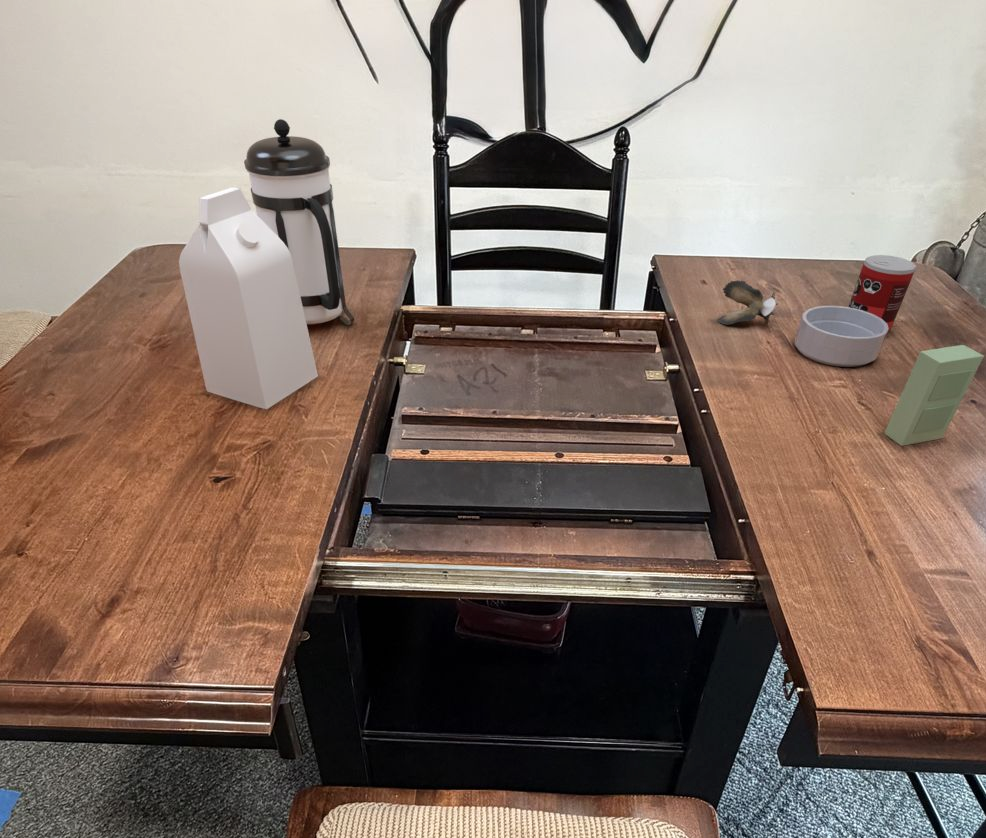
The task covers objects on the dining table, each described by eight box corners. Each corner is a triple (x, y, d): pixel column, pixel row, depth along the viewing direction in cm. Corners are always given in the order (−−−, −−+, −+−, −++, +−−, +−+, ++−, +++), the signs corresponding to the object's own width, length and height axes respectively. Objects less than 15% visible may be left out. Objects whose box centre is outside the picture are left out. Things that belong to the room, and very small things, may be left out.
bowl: (872, 340, 122) (883, 311, 119) (880, 373, 113) (892, 342, 110) (792, 330, 125) (801, 301, 121) (794, 362, 116) (803, 332, 112)
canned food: (839, 317, 129) (861, 253, 122) (885, 321, 128) (910, 256, 121) (845, 333, 124) (869, 268, 116) (894, 338, 123) (921, 272, 115)
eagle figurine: (764, 305, 130) (717, 294, 129) (784, 280, 123) (735, 268, 122) (760, 341, 128) (713, 330, 128) (780, 318, 121) (730, 306, 121)
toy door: (883, 433, 99) (919, 350, 91) (923, 426, 101) (963, 344, 93) (901, 446, 97) (940, 362, 89) (943, 438, 99) (985, 356, 90)
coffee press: (251, 334, 121) (204, 127, 100) (294, 300, 132) (260, 107, 112) (344, 347, 118) (315, 135, 97) (381, 311, 129) (362, 114, 108)
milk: (260, 360, 114) (219, 177, 96) (318, 376, 110) (286, 188, 92) (206, 391, 106) (150, 198, 88) (266, 409, 102) (220, 211, 85)
